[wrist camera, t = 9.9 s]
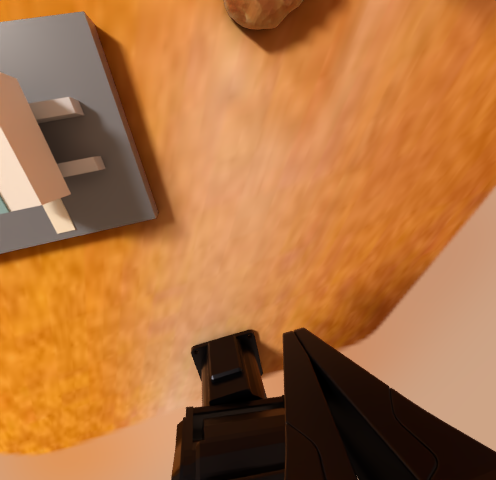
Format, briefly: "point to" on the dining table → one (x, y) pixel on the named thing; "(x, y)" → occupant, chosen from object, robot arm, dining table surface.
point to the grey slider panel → (73, 131)
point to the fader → (24, 154)
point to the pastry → (260, 12)
